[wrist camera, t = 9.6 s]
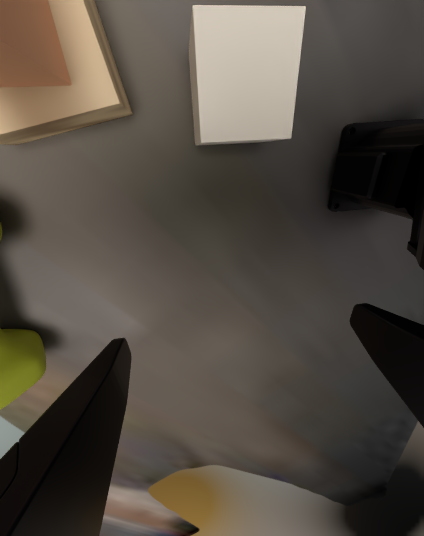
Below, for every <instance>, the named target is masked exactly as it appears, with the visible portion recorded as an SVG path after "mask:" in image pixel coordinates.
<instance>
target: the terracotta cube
mask: <svg viewBox="0 0 424 536" xmlns="http://www.w3.org/2000/svg"><path fill="white" fill-rule="evenodd" d="M70 85H72V84H71V80H70V77H69V73H68V70H67V66H66V63H65V59H64V55H63V52H62V48H61V45H60V41H59V38H58V34H57V31H56V27H55V24H54V20H53V17H52V13H51V9H50V6H49V2H48V0H0V87H32V86H70Z"/></svg>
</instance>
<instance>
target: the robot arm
mask: <svg viewBox="0 0 424 536" xmlns="http://www.w3.org/2000/svg"><path fill="white" fill-rule="evenodd" d="M350 129H352V133H351V134H349V131H350ZM331 188H332V189H331V194H330V200H329V205H328V208H329V210H331V211H334V212H337V211H347V210H357V209H367V208H374V209H378V210H381V211H385V212H388V213H392V214H395V215H399V216H403V217H406V218H410V219H413V223H412V231H411V238H410V241H409V242H408V246H407V249H408V250H409V251H410V252H411V253H412V254H413V255H414V256H415V257H416V259H417V261H418V264H419V266H420V267H421V268H422V269H423V270H424V120H423V119H416V120H400V121H384V122H368V123H353V124H349V125H347V126H346V127H345V128H344V130H343V133H342V138H341V143H340V148H339V153H338V156H337V161H336V166H335V171H334V176H333V181H332V186H331ZM335 204H336V206H335V207H334V205H335ZM350 325H351V327H352V328H353V330H354V332H355V333H356V335H357V336H358V338H359V340H360V341H361V343H362V344H363V346H364V348H365V349H366V351H367V352H368V354H369V355H370V357H371V358H372V360H373V361H374V363H375V364H376V366H377V367H378V368H379V370H380V371H381V372H382V373H383V375H384V376H385V377H386V379H387V380H388V381H389V383H390V384H391V385H392V387H393V388H394V389H395V391H396V392H397V393H398V395H399V396H400V397H401V399H402V400H403V401H404V403H405V404H406V405H407V406H408V408H409V409H410V410H411V412H412V413H413V414H414V416H415V417H416V418H417V420H418V421H419V422H420V424H421V425H422V426H423V428H424V325H422V324H419V323H417V322H414V321H411V320H409V319H406V318H404V317H401V316H398V315H396V314H393V313H391V312H388V311H386V310H383V309H380V308H378V307H375V306H373V305H370V304H367V303H362V304H356V305H355V306H354V308H353V311H352V314H351V317H350ZM130 368H131V352H130V349H129V346H128V343H127V341H126V339H125V338H118V339H113V340H112V341H111V342H110V343H109V344H108V345H107V346H106V347H105V348H104V349H103V350H102V352H101V353H100V354H99V355H98V356H97V357H96V358H95V359H94V360H93V361H92V362H91V363H90V364H89V365H88V366H87V368H86V369H85V370H84V371H83V372H82V373H81V374H80V375H79V376H78V377H77V378H76V379H75V380H74V381H73V382H72V384H71V385H70V386H69V387H68V388H67V389H66V390H65V391H64V392H63V393H62V394H61V395H60V396H59V397H58V398H57V400H56V401H55V402H54V403H53V404H52V405H51V406H50V407H49V408H48V409H47V410H46V411H45V412H44V413H43V414H42V416H41V417H40V418H39V419H38V420H37V421H36V422H35V423H34V424H33V425H32V426H31V427H30V428H29V429H28V430H27V432H26V433H25V434H24V435H23V436H22V437H21V438H20V439H19V442H16V443H15V444H14V445H13V446H12V447H11V448H10V450H9V451H8V452H7V453H6V454H5V455H4V456H3V457H2V458H1V459H0V536H99V534H100V530H101V525H102V520H103V515H104V510H105V506H106V501H107V496H108V491H109V487H110V482H111V477H112V472H113V467H114V463H115V458H116V453H117V448H118V443H119V439H120V434H121V429H122V424H123V420H124V415H125V410H126V405H127V398H128V388H129V378H130Z"/></svg>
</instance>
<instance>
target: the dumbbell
mask: <svg viewBox="0 0 424 536" xmlns="http://www.w3.org/2000/svg"><path fill="white" fill-rule="evenodd" d="M1 238H2V226H1V222H0V242H1ZM45 370H46V356H45V350H44V346H43V343H42V340H41V338H40V336H39V334H38V333H36V332H35V331H32V330H25V329H1V328H0V410H1V409H2V408H4V407H5V406H7V405H8V404H9V403H11V402H12V401H13V400H15V399H16V398H17V397H19V396H20V395H21V394H23V393H24V392H25V391H26V390H28V389H29V388H30V387H31V386H32V385H34V384H35V383H36V382H37V381H38V380H39V379H40V378H41V377H42V376H43V374H44V373H45Z"/></svg>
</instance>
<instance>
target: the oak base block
mask: <svg viewBox="0 0 424 536" xmlns="http://www.w3.org/2000/svg"><path fill="white" fill-rule="evenodd" d="M48 2H49V6H50V9H51V13H52V17H53V20H54V24H55V27H56V31H57V34H58V38H59V41H60V45H61V48H62V52H63V55H64V59H65V63H66V66H67V70H68V73H69V77H70V80H71V84H72V85H70V86H32V87H0V144H5V145H19V144H22V143H26V142H30V141H34V140H38V139H41V138H45V137H49V136H53V135H57V134H60V133H64V132H68V131H72V130H76V129H79V128H83V127H87V126H91V125H95V124H98V123H102V122H106V121H110V120H114V119H118V118H121V117H125V116H129V115H133V114H132V111H131V108H130V105H129V102H128V99H127V96H126V93H125V90H124V87H123V84H122V81H121V78H120V75H119V72H118V69H117V66H116V63H115V60H114V57H113V54H112V51H111V49H110V46H109V43H108V40H107V37H106V34H105V31H104V28H103V25H102V22H101V19H100V16H99V13H98V10H97V7H96V4H95V1H94V0H48Z"/></svg>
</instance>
